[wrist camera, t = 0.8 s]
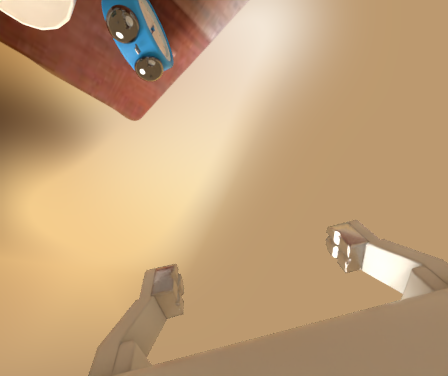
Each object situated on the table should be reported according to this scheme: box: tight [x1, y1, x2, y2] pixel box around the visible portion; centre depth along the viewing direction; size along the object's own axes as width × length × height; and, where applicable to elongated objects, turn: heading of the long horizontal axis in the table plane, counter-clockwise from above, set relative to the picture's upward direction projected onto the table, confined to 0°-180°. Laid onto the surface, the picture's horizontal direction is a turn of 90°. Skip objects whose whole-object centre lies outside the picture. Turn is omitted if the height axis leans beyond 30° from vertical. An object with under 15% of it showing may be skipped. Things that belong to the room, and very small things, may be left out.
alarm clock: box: [102, 0, 173, 82], centre depth 39 cm, size 13×6×15 cm, turn 19°
